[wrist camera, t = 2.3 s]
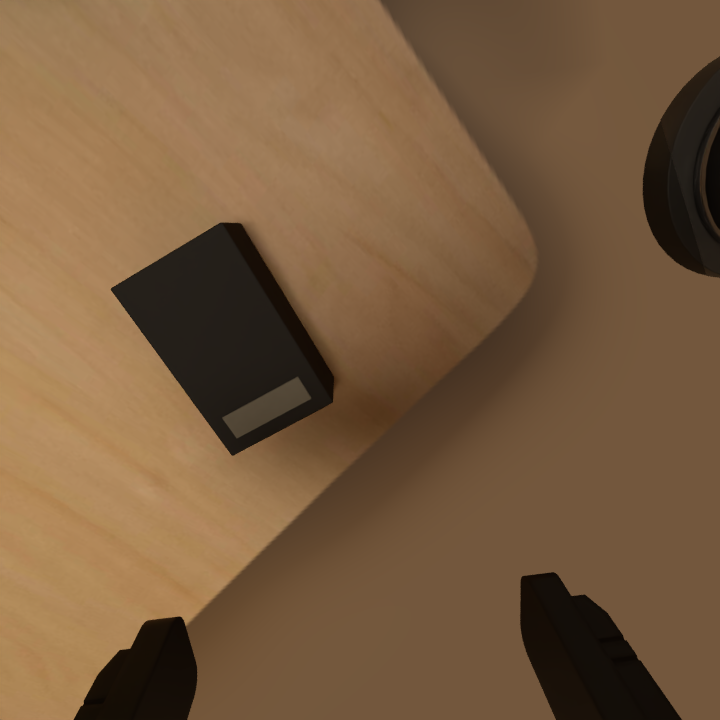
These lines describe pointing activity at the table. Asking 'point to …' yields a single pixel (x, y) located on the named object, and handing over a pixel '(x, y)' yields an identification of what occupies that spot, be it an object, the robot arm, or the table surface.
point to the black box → (229, 336)
